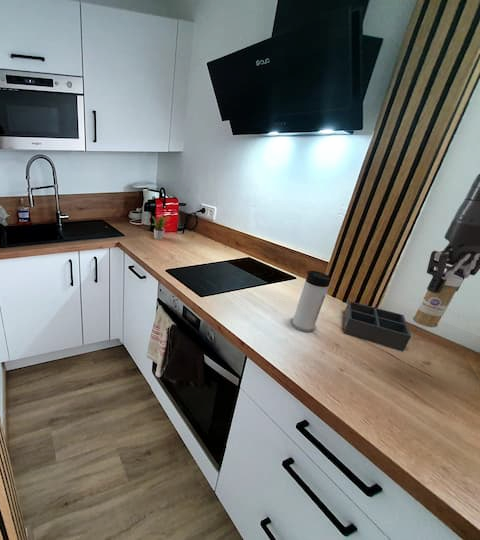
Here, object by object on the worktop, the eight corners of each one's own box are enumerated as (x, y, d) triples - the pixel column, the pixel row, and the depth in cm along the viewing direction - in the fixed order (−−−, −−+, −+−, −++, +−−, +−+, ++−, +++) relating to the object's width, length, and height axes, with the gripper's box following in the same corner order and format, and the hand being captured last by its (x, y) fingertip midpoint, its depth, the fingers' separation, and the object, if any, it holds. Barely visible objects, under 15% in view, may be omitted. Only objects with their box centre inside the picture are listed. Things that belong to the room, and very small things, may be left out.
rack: (396, 328, 97) (403, 314, 95) (403, 351, 86) (411, 336, 84) (343, 314, 105) (348, 300, 103) (343, 333, 94) (349, 318, 92)
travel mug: (288, 320, 100) (304, 268, 92) (308, 323, 99) (327, 270, 91) (294, 330, 94) (312, 276, 86) (316, 333, 93) (336, 278, 85)
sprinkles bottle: (412, 323, 72) (437, 275, 67) (411, 316, 75) (434, 269, 70) (438, 330, 70) (466, 281, 64) (436, 322, 73) (462, 275, 67)
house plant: (174, 242, 179) (177, 216, 172) (154, 243, 175) (156, 217, 169) (165, 235, 192) (167, 211, 185) (146, 236, 188) (147, 212, 181)
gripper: (474, 227, 57) (435, 300, 64) (528, 225, 60) (485, 296, 66) (431, 218, 64) (400, 285, 71) (481, 217, 66) (446, 282, 73)
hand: (441, 290), depth 69 cm, fingers closed on sprinkles bottle, 4 cm apart
